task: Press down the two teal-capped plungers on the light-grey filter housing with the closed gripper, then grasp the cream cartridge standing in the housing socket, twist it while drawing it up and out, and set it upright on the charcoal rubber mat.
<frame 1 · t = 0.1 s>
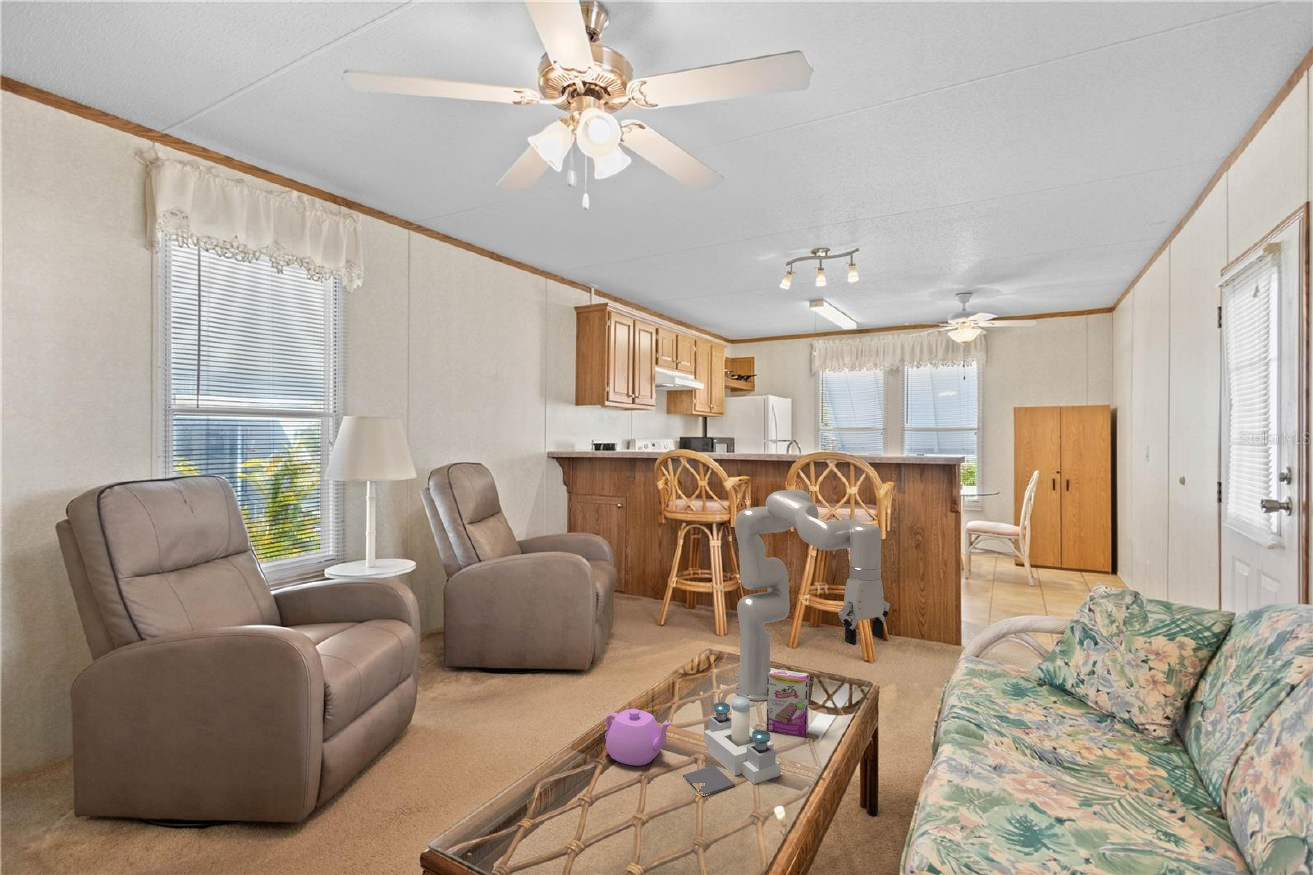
hand: (864, 640, 156), 31 cm above the table, fingers open, 9 cm apart
housing: (740, 757, 157), on the table
mat: (708, 781, 147), on the table
teapot: (637, 757, 158), on the table
candy bar box: (787, 731, 171), on the table
cartridge: (740, 757, 157), resting in housing
plunger 2: (761, 744, 150), point 7 cm above the table, slide at 0.0 cm
plunger 1: (721, 715, 165), point 8 cm above the table, slide at 0.0 cm
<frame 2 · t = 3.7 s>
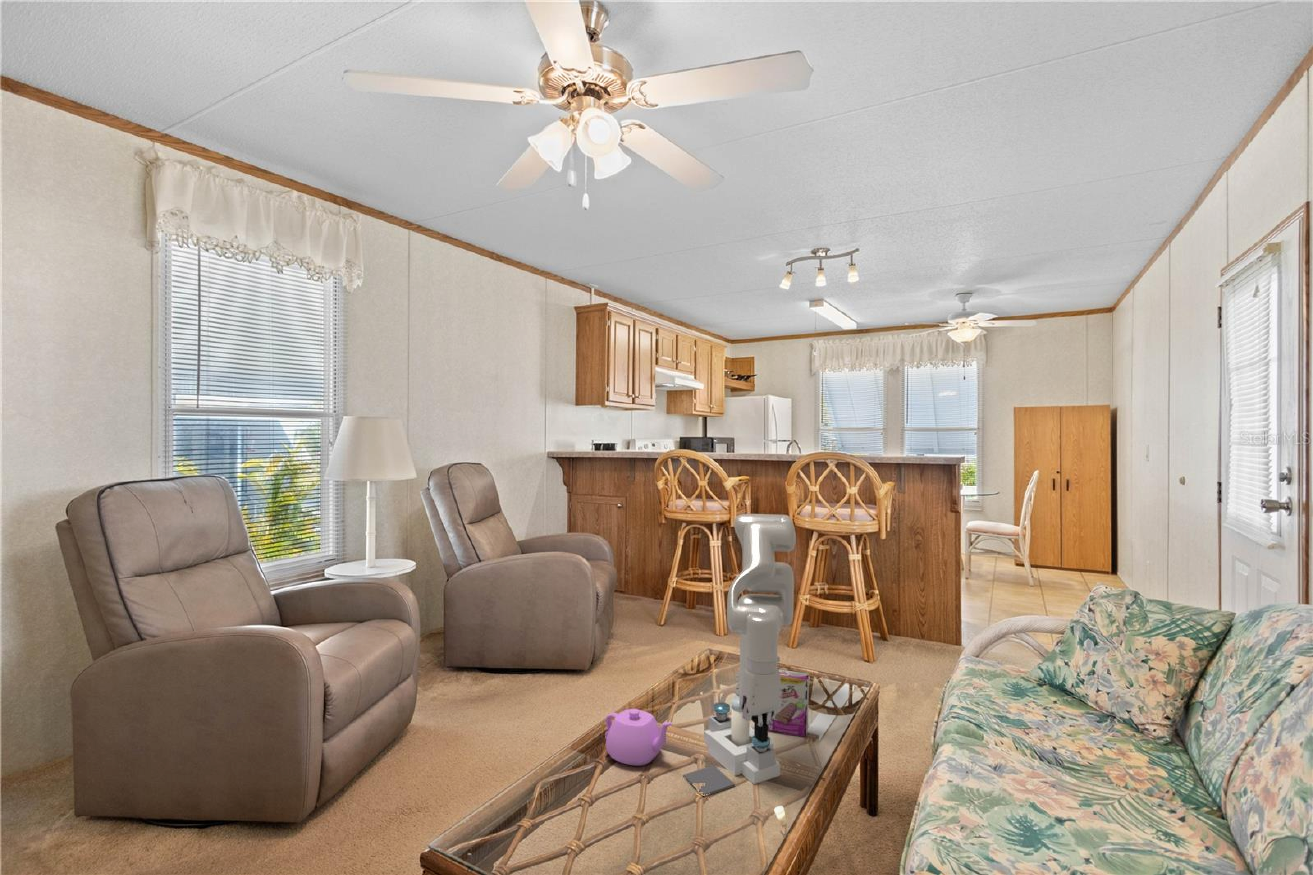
hand: (761, 739, 149), 9 cm above the table, fingers closed
plunger 2: (761, 748, 150), point 6 cm above the table, slide at 1.1 cm, touching gripper
everything else where it was.
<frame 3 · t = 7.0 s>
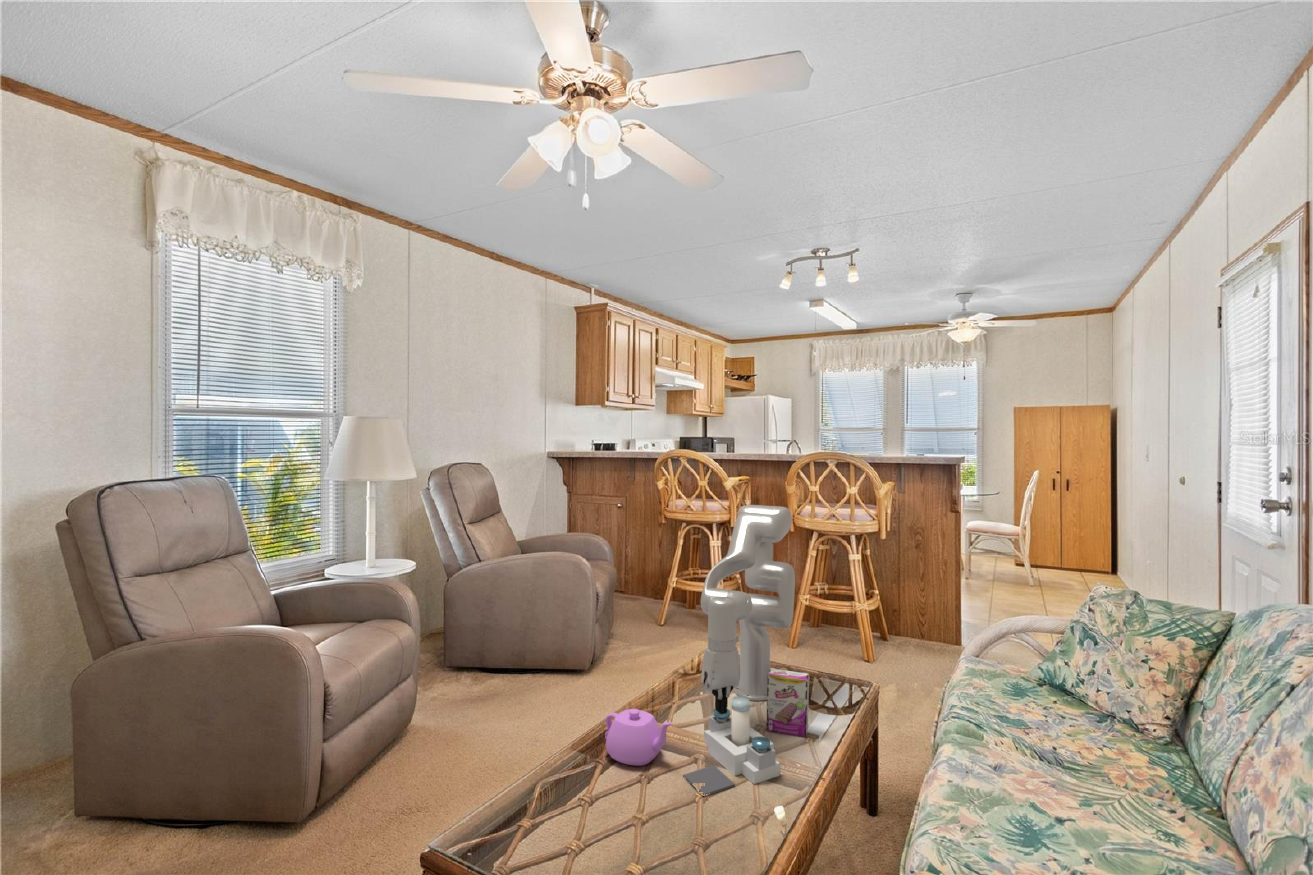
hand: (721, 711, 164), 9 cm above the table, fingers closed
plunger 2: (761, 751, 150), point 6 cm above the table, slide at 1.7 cm
plunger 1: (721, 720, 165), point 6 cm above the table, slide at 1.4 cm
everything else where it was.
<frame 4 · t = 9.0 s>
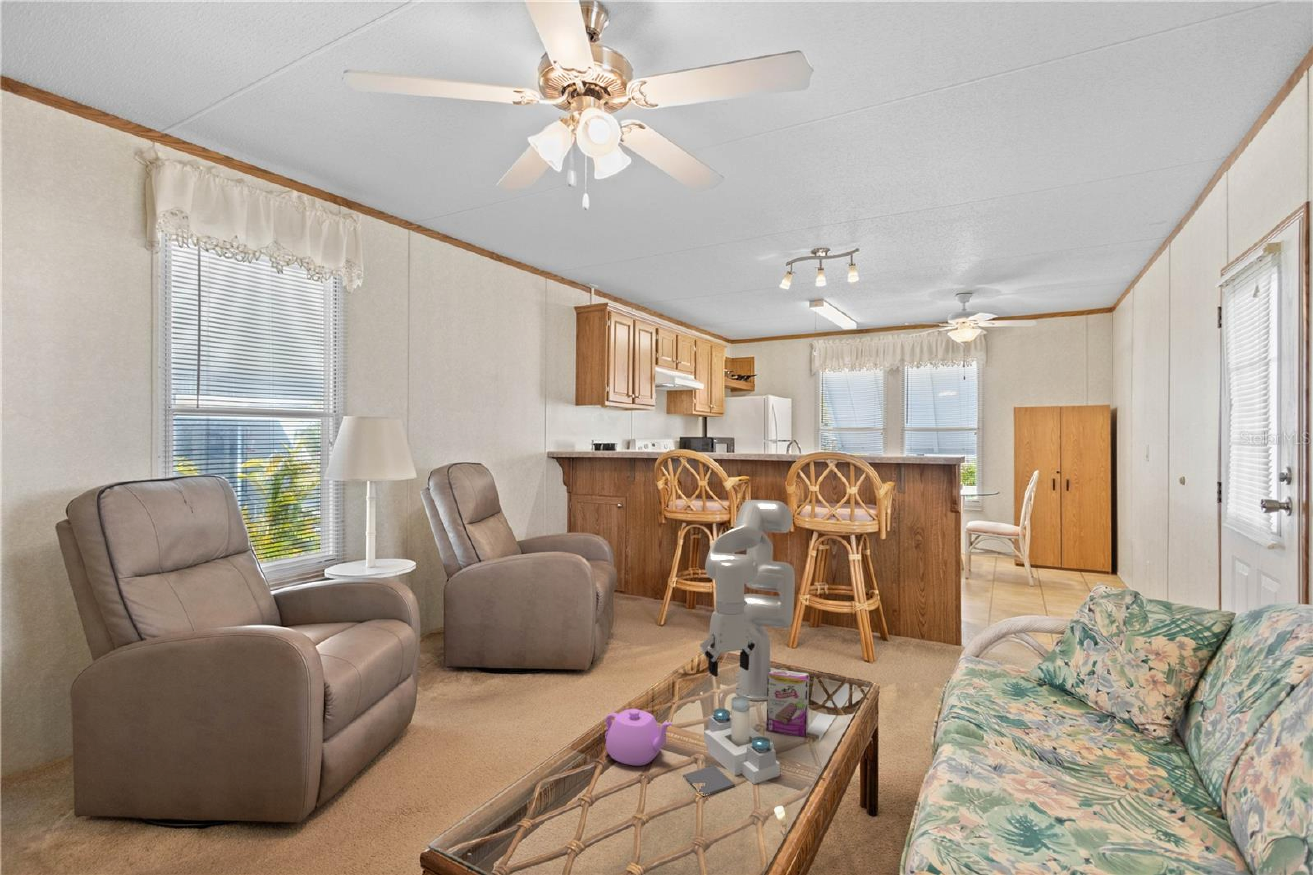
hand: (729, 671, 161), 21 cm above the table, fingers open, 9 cm apart
plunger 1: (721, 721, 165), point 6 cm above the table, slide at 1.7 cm
everything else where it was.
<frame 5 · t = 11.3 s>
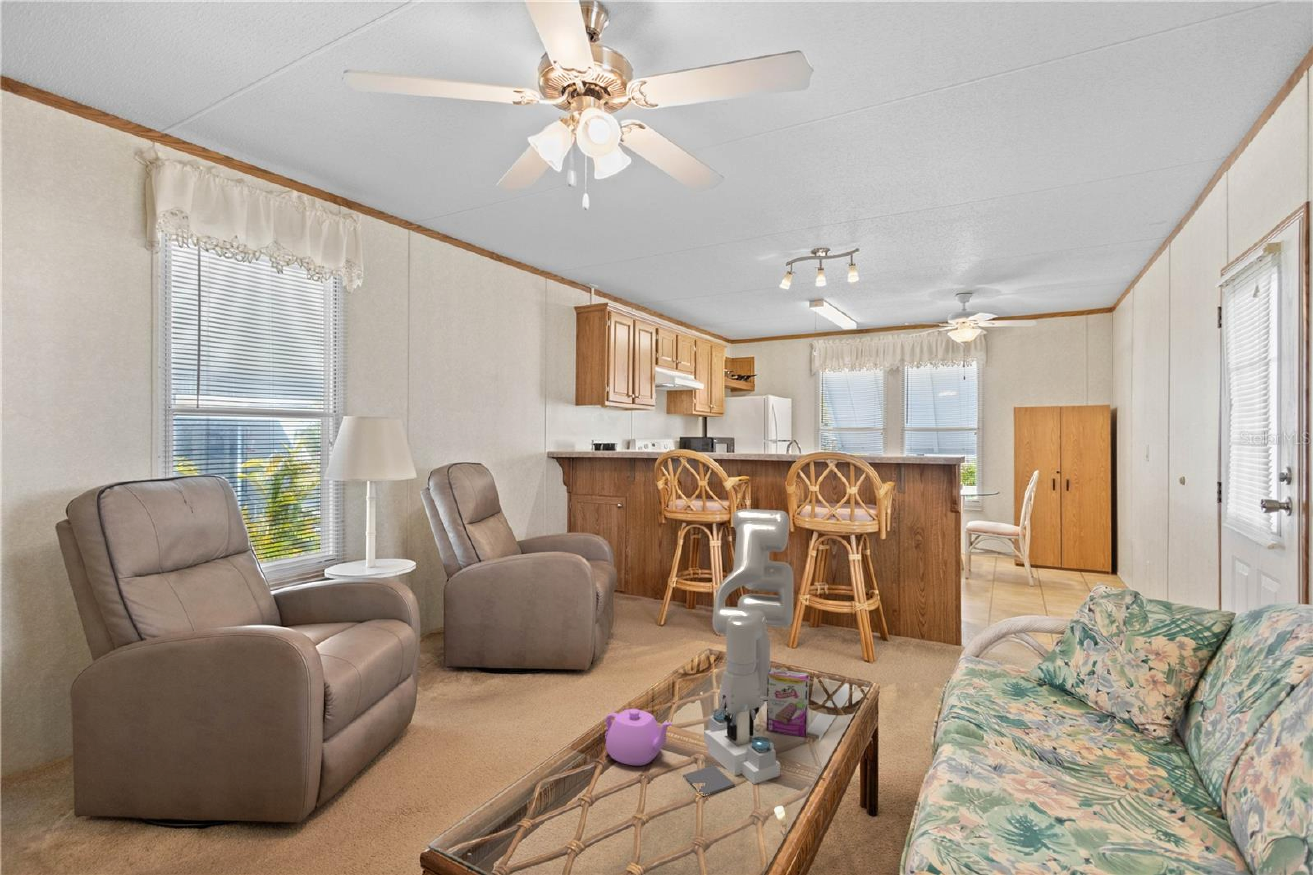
hand: (740, 735, 157), 6 cm above the table, fingers closed on cartridge, 4 cm apart
cartridge: (740, 757, 157), resting in housing, touching gripper
everything else where it was.
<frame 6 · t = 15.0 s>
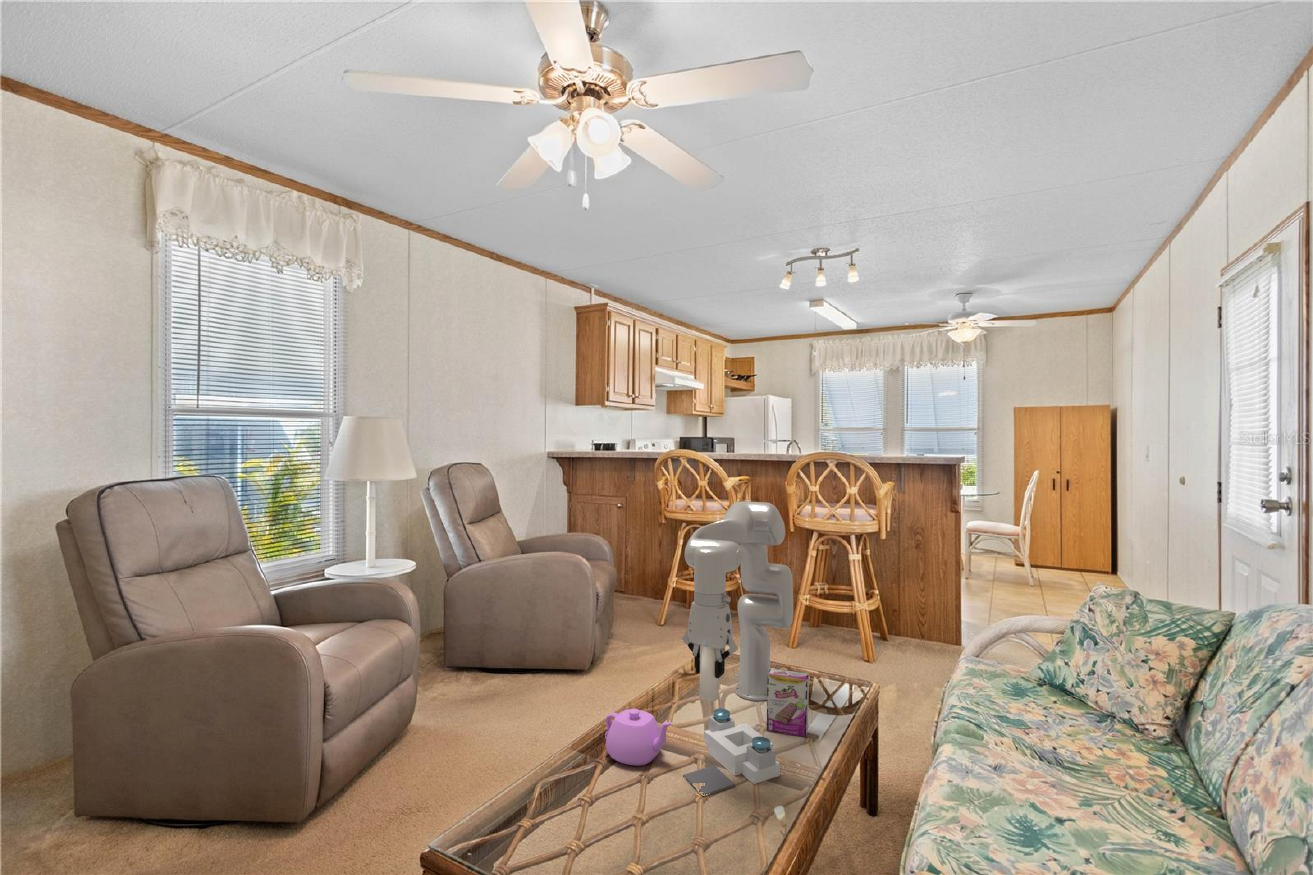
hand: (709, 673, 146), 26 cm above the table, fingers closed on cartridge, 4 cm apart
cartridge: (709, 697, 146), point 21 cm above the table, touching gripper
everything else where it was.
when the fingers open (7 cm above the table, at t = 18.7 s): cartridge stays where it is, resting on mat.
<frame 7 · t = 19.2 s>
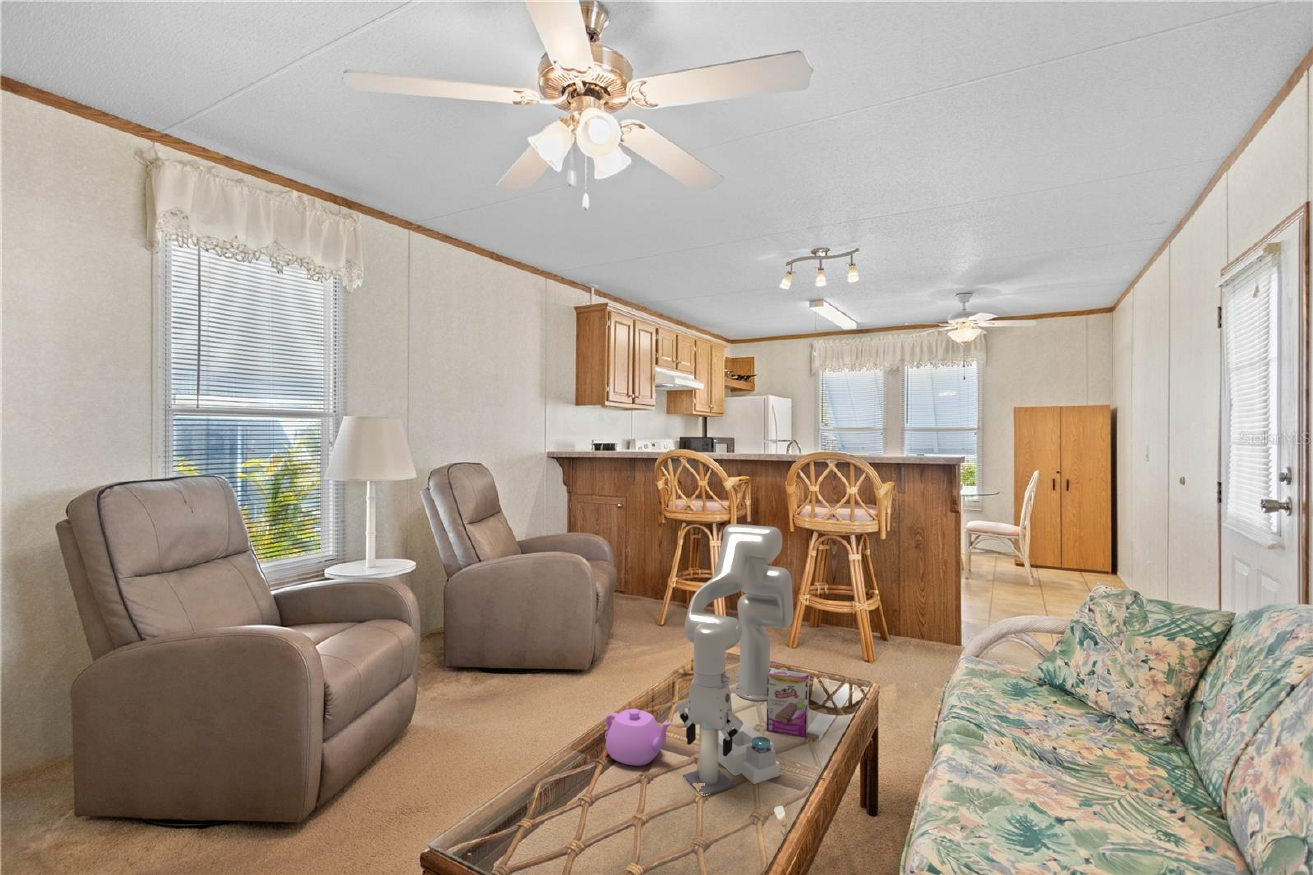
hand: (708, 747, 147), 8 cm above the table, fingers open, 9 cm apart
cartridge: (708, 779, 147), point 1 cm above the table, touching mat
everything else where it was.
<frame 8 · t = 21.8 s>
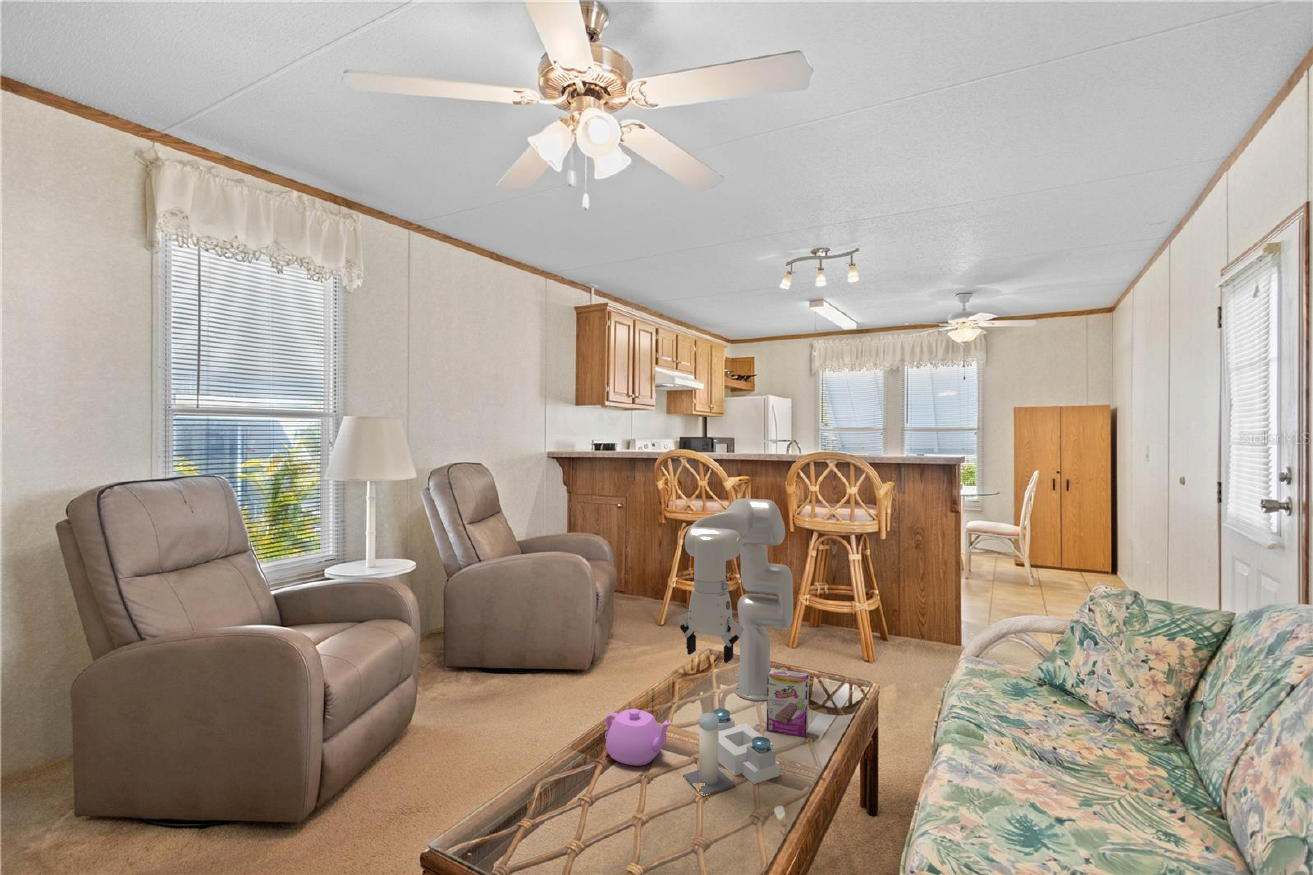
hand: (709, 656, 146), 30 cm above the table, fingers open, 9 cm apart
nothing on the table moved.
at the end: cartridge inside the target area on the mat (0.1 cm from its centre), point 0.6 cm above the mat's base; plunger 1 slide at 1.7 cm; plunger 2 slide at 1.7 cm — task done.
